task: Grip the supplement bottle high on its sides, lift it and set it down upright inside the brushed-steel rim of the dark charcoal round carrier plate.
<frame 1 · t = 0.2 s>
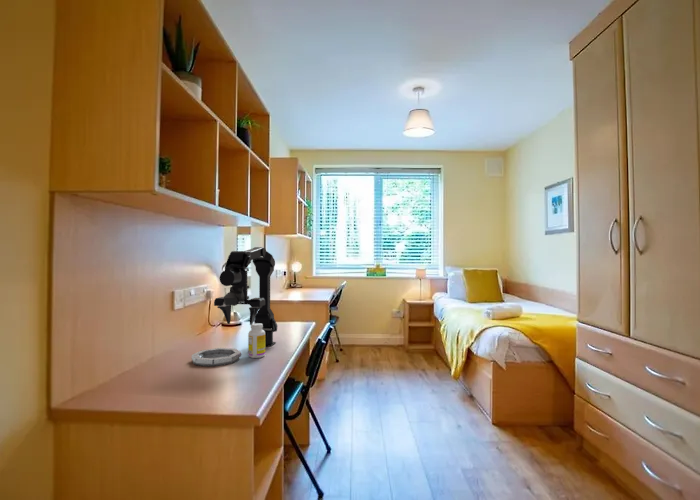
hand: (239, 324, 146), 14 cm above the table, fingers open, 9 cm apart
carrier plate: (216, 360, 147), on the table
supplement bottle: (256, 356, 153), on the table
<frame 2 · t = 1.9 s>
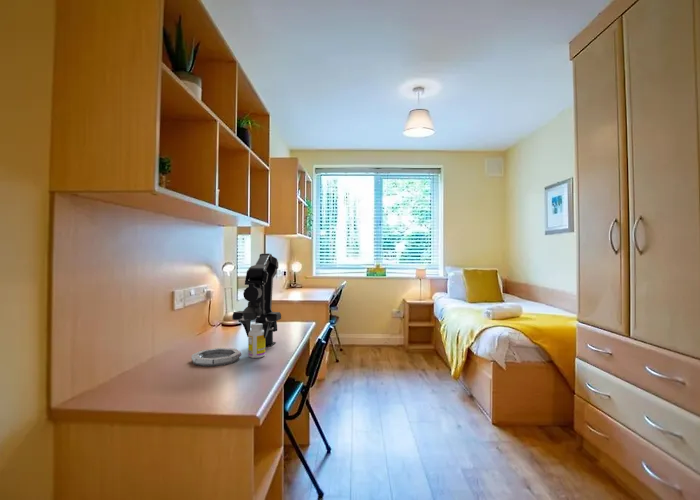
hand: (256, 337, 153), 8 cm above the table, fingers closed on supplement bottle, 7 cm apart
supplement bottle: (256, 356, 153), on the table, touching gripper
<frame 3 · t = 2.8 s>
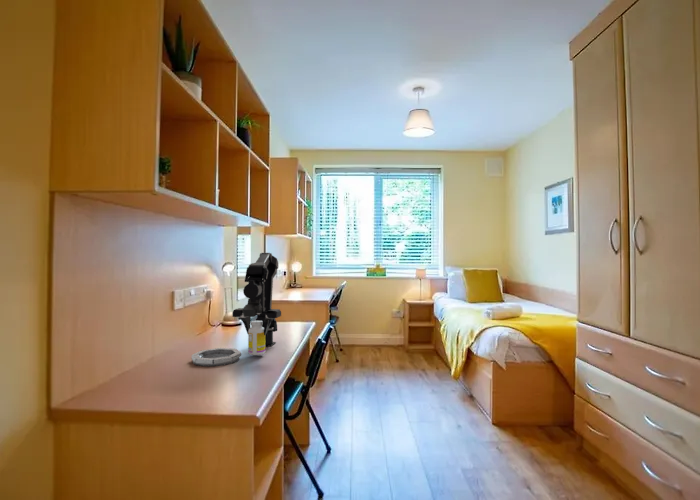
hand: (256, 334, 153), 9 cm above the table, fingers closed on supplement bottle, 7 cm apart
supplement bottle: (256, 353, 153), point 1 cm above the table, touching gripper
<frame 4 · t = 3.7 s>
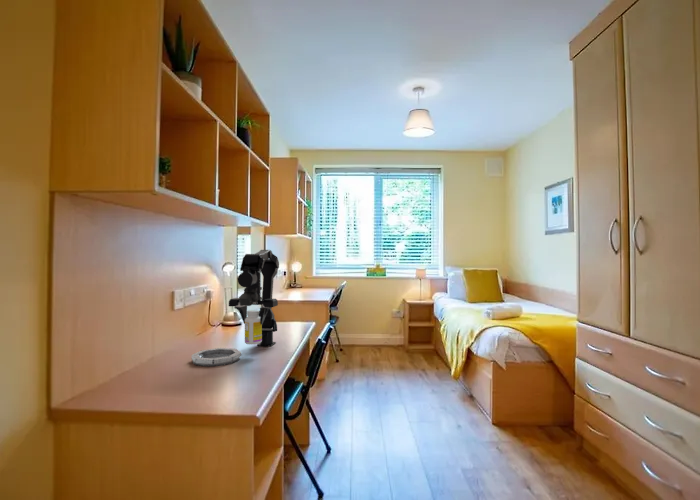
hand: (253, 324, 152), 13 cm above the table, fingers closed on supplement bottle, 7 cm apart
supplement bottle: (253, 343, 152), point 5 cm above the table, touching gripper
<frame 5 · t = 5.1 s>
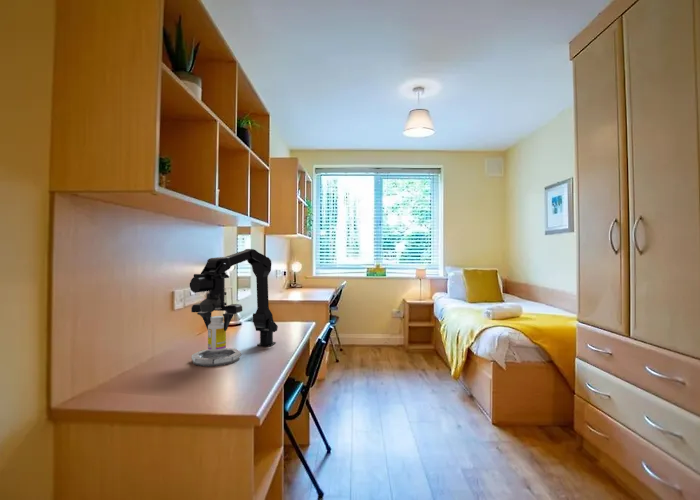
hand: (217, 330, 147), 11 cm above the table, fingers closed on supplement bottle, 7 cm apart
supplement bottle: (216, 350, 147), point 4 cm above the table, touching gripper
when the fingers open (10 cm above the table, at t = 5.9 s): supplement bottle drops 1 cm, resting on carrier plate.
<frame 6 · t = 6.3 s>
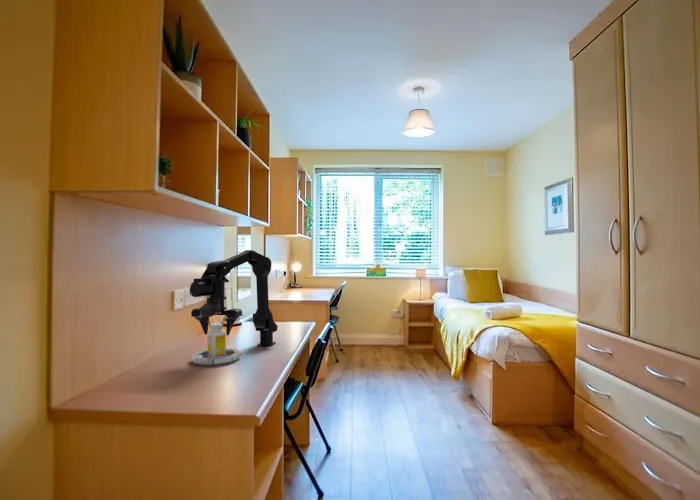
hand: (216, 334, 147), 10 cm above the table, fingers open, 9 cm apart
supplement bottle: (216, 357, 147), point 1 cm above the table, touching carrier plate
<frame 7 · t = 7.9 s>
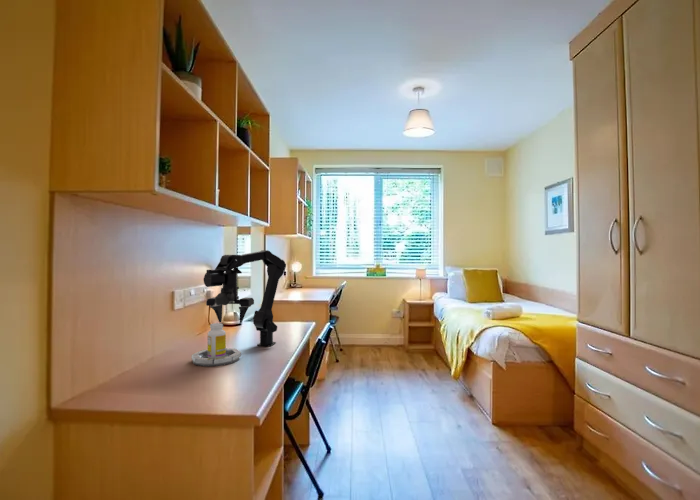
hand: (230, 322, 158), 13 cm above the table, fingers open, 9 cm apart
nothing on the table moved.
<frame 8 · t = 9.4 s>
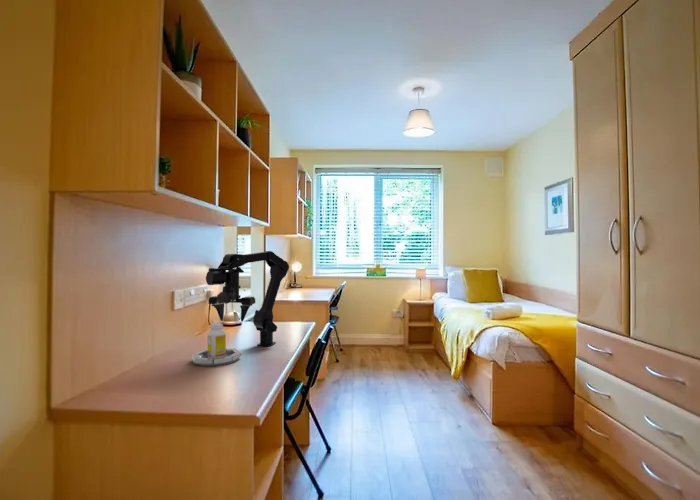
hand: (231, 321, 159), 13 cm above the table, fingers open, 9 cm apart
nothing on the table moved.
at the end: supplement bottle 0.1 cm off-centre on the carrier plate, point 0.8 cm above the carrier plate's base; supplement bottle tilted 0°; the gripper is holding nothing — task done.
